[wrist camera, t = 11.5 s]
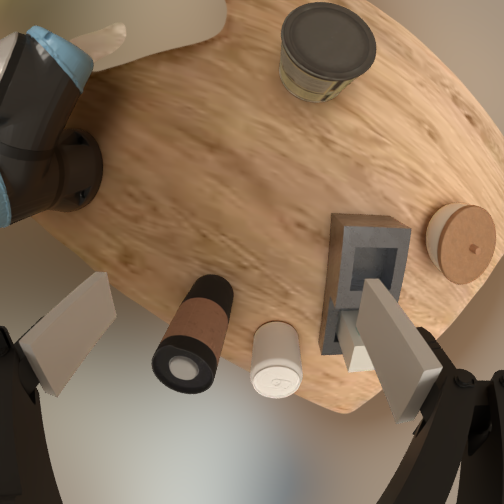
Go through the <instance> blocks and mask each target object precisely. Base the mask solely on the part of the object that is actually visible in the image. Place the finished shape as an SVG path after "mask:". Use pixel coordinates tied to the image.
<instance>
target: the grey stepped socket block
mask: <svg viewBox="0 0 504 504" xmlns="http://www.w3.org/2000/svg"><path fill="white" fill-rule="evenodd" d="M410 235H411V228H409V227H408V226H406V225H404V224H403V223H401V222H399V221H398V220H396V219H394V218H393V217H391V216H382V215H362V214H338V213H332V214H331V230H330V244H329V256H328V267H327V278H326V287H325V296H324V305H323V313H322V321H321V328H320V335H319V346H320V351H321V355H338V354H343V353H342V350H341V347H340V344H339V341H338V337H337V334H336V326H337V320H338V314H339V311H352V310H359V308H360V303H361V297H362V292H363V287H364V281H365V279H379V280H380V281H381V282H382V283H383V285H384V286H385V287H386V288H387V290H388V291H389V292H390V294H391V295H392V296H393V297H394V299H395V300H396V301H397V303H398V300H399V296H400V291H401V287H402V282H403V277H404V272H405V266H406V261H407V255H408V249H409V242H410Z"/></svg>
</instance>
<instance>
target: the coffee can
mask: <svg viewBox="0 0 504 504" xmlns="http://www.w3.org/2000/svg"><path fill="white" fill-rule="evenodd" d="M281 40H282V45H281V59H280V65H279V73H280V78H281V81H282V83H283V85H284V86H285V87H286V89H287V90H288V91H289V92H290V93H291V94H293V95H294V96H296V97H297V98H299V99H302V100H304V101H308V102H315V103H318V102H325V101H328V100H331V99H333V98H334V97H336V96H337V95H338V94H339V93H340V92H341V91H342V90H343V89H344V88H345V87H346V86H347V85H349V84H350V83H351V82H352V81H353V80H355V79H356V78H357V77H358V76H360V75H362V74H363V73H365V72H366V71H367V70H368V69H369V68H370V67H371V65H372V64H373V62H374V60H375V56H376V42H375V38H374V35H373V33H372V32H371V30H370V28H369V27H368V25H367V24H366V23H365V22H364V21H363V20H362V19H361V18H360V17H359V16H358V15H357V14H355V13H354V12H352V11H350V10H349V9H347V8H345V7H342V6H339V5H336V4H332V3H326V2H314V3H308V4H305V5H302V6H300V7H298V8H296V9H295V10H293V11H292V12H291V13H290V14H289V15H288V16H287V17H286V19H285V21H284V23H283V25H282V30H281Z"/></svg>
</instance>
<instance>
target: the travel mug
mask: <svg viewBox="0 0 504 504" xmlns="http://www.w3.org/2000/svg"><path fill="white" fill-rule="evenodd" d="M232 302H233V290H232V287H231V285H230V284H229V283H228V282H227V281H226V280H225V279H224V278H222V277H220V276H217V275H205V276H203V277H201V278H199V279H198V280H197V281H196V282H195V284H194V285H193V286H192V288H191V290H190V291H189V293H188V294H187V296H186V297H185V299H184V300H183V302H182V304H181V305H180V307H179V309H178V310H177V312H176V314H175V316H174V318H173V320H172V322H171V323H170V325H169V327H168V329H167V331H166V333H165V335H164V337H163V339H162V340H161V342H160V344H159V346H158V348H157V350H156V352H155V354H154V356H153V358H152V369H153V372H154V374H155V376H156V377H157V378H158V379H159V380H160V382H162V383H163V384H164V385H165V386H167V387H168V388H170V389H172V390H175V391H177V392H180V393H185V394H197V393H201V392H204V391H206V390H207V389H209V388H210V386H211V385H212V383H213V381H214V378H215V374H216V370H217V366H218V362H219V358H220V355H221V351H222V347H223V343H224V339H225V336H226V332H227V328H228V323H229V318H230V313H231V307H232Z"/></svg>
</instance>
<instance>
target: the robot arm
mask: <svg viewBox="0 0 504 504" xmlns="http://www.w3.org/2000/svg"><path fill="white" fill-rule="evenodd" d="M93 66H94V64H93V60H92V58H91V57H90V56H89V55H88V54H87V53H85V52H84V51H83V50H81V49H80V48H78V47H77V46H75V45H74V44H72V43H70V42H69V41H67V40H65V39H64V38H62V37H60V36H58V35H56V34H53V33H52V32H50V31H48V30H46V29H44V28H42V27H40V26H33V27H31V29H29V30H28V31H27V35H24V34H21V33H18V32H14V33H12V34H10V35H8V36H7V37H5V38H3V39H1V40H0V228H1V227H7V226H9V225H11V224H13V223H15V222H18V221H20V220H22V219H25V218H27V217H30V216H32V215H35V214H37V213H40V212H42V211H45V210H55V211H61V212H71V211H74V210H77V209H80V208H82V207H84V206H86V205H87V204H88V203H89V202H90V201H91V200H92V199H93V198H94V196H95V195H96V193H97V191H98V189H99V186H100V183H101V178H102V170H103V164H102V156H101V152H100V149H99V146H98V144H97V142H96V141H95V139H94V138H93V137H92V136H91V135H90V134H89V133H87V132H86V131H84V130H81V129H64V127H65V124H66V122H67V120H68V118H69V116H70V114H71V112H72V110H73V108H74V106H75V104H76V102H77V100H78V98H79V96H80V94H82V93H83V88H84V86H85V84H86V82H87V80H88V78H89V76H90V74H91V72H92V70H93ZM63 129H64V130H63ZM116 317H117V316H116V311H115V308H114V303H113V299H112V295H111V290H110V286H109V281H108V276H107V272H95V273H93V274H92V275H91V276H90V277H89V278H87V279H86V280H85V281H84V282H83V283H81V284H80V285H79V286H78V287H77V288H76V289H75V290H73V291H72V292H71V293H70V294H69V295H68V296H66V297H65V298H64V299H63V300H62V301H61V302H60V303H59V304H57V305H56V306H55V307H54V308H53V309H52V310H51V311H50V312H49V313H48V314H46V315H45V316H43V317H42V318H40V319H39V320H38V321H37V322H36V324H35V325H33V326H32V327H31V329H29V330H28V331H27V332H26V333H25V334H24V335H23V336H22V337H21V338H20V339H19V340H18V341H17V342H16V343H15V344H13V342H12V340H11V337H10V335H9V333H8V330H7V329H6V328H5V327H4V326H0V504H63V503H62V500H61V497H60V494H59V490H58V487H57V484H56V481H55V477H54V473H53V470H52V466H51V462H50V458H49V453H48V449H47V444H46V439H45V433H44V428H43V421H42V414H41V406H40V398H39V392H38V390H37V388H36V386H37V385H38V384H39V383H40V384H41V386H42V388H43V390H44V391H45V393H48V394H50V395H53V396H55V397H58V396H59V394H60V393H61V391H62V390H63V388H64V387H65V386H66V384H67V383H68V381H69V380H70V378H71V377H72V376H73V374H74V373H75V371H76V370H77V368H78V367H79V366H80V364H81V363H82V362H83V360H84V359H85V358H86V356H87V355H88V354H89V352H90V351H91V349H92V348H93V347H94V346H95V344H96V343H97V341H98V340H99V339H100V338H101V336H102V335H103V334H104V332H105V331H106V330H107V328H108V327H109V326H110V325H111V323H112V322H113V321H114V320H115V318H116ZM356 328H357V330H358V332H359V334H360V336H361V339H362V341H363V343H364V346H365V348H366V350H367V352H368V355H369V357H370V359H371V362H372V364H373V366H374V369H375V371H376V374H377V376H378V378H379V381H380V383H381V386H382V388H383V391H384V393H385V396H386V398H387V401H388V403H389V406H390V408H391V411H392V414H393V416H394V419H395V422H396V424H399V423H403V422H408V421H412V420H414V419H415V417H416V416H417V414H418V412H419V410H420V411H421V413H422V416H423V419H422V420H421V422H420V423H419V425H418V426H417V428H416V429H415V431H414V432H413V435H414V437H413V439H412V442H411V443H410V446H409V448H408V450H407V452H406V454H405V456H404V457H403V459H402V461H401V463H400V465H399V467H398V469H397V471H396V472H395V474H394V476H393V478H392V479H391V481H390V483H389V484H388V486H387V488H386V489H385V491H384V493H383V494H382V496H381V497H380V499H379V501H378V502H377V503H376V504H445V502H446V500H447V498H448V495H449V493H450V490H451V487H452V485H453V482H454V480H455V477H456V474H457V471H458V468H459V465H460V462H461V470H460V480H459V489H458V496H457V503H456V504H504V370H499V371H497V372H495V373H494V375H493V377H492V379H491V380H490V381H477V380H476V378H475V376H474V375H473V374H472V373H470V372H468V371H466V370H464V369H456V368H455V366H454V365H453V363H452V362H451V360H450V359H449V358H448V356H447V355H446V354H445V352H444V351H443V349H441V346H440V345H439V344H438V343H437V342H436V340H435V338H434V337H433V335H432V334H431V333H430V332H428V331H427V330H426V329H424V328H423V327H415V326H414V324H413V323H412V322H411V320H410V319H409V317H408V316H407V315H406V313H405V312H404V311H403V309H402V308H401V307H400V305H399V304H398V303H397V301H396V300H395V299H394V297H393V296H392V295H391V294H390V292H389V291H388V290H387V288H386V287H385V286H384V285H383V283H382V282H381V281H380V280H379V279H365V281H364V287H363V292H362V297H361V303H360V308H359V312H358V317H357V322H356Z"/></svg>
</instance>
